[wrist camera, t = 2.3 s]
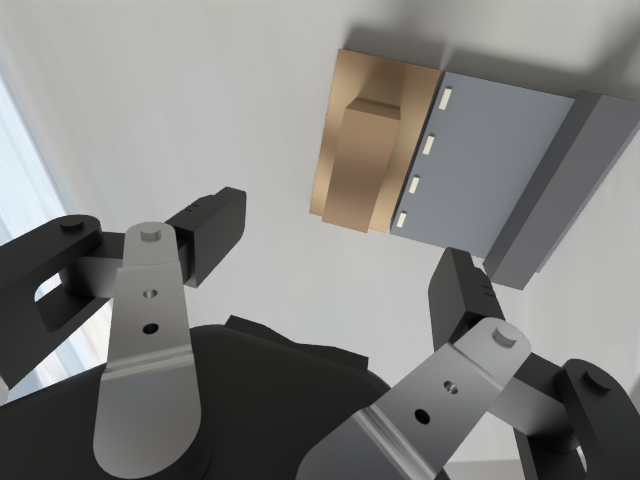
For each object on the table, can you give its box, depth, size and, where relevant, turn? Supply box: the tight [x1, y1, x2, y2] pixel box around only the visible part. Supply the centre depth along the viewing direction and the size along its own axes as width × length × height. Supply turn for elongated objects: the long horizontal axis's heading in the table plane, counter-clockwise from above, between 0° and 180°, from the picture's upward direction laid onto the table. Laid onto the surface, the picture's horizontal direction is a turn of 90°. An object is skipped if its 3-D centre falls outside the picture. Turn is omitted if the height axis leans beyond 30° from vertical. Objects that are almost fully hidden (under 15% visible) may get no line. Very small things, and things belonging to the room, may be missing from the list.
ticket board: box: [390, 71, 640, 290], centre depth 22 cm, size 13×12×4 cm
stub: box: [309, 49, 441, 233], centre depth 21 cm, size 12×7×7 cm, turn 170°
